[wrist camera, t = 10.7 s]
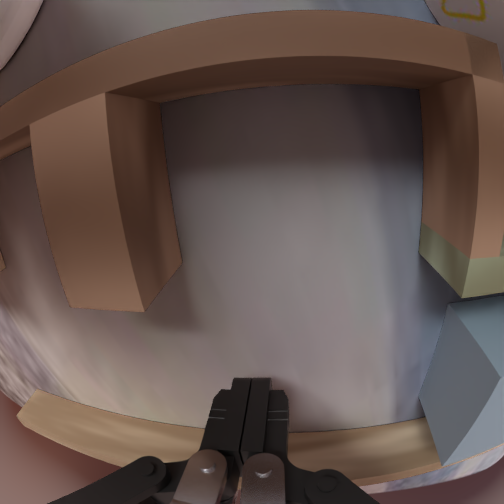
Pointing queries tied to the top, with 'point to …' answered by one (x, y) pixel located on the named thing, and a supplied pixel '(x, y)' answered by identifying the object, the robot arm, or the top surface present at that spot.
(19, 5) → the jar
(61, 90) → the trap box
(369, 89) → the top surface
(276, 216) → the top surface
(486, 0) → the white cylinder
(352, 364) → the top surface
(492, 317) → the block
